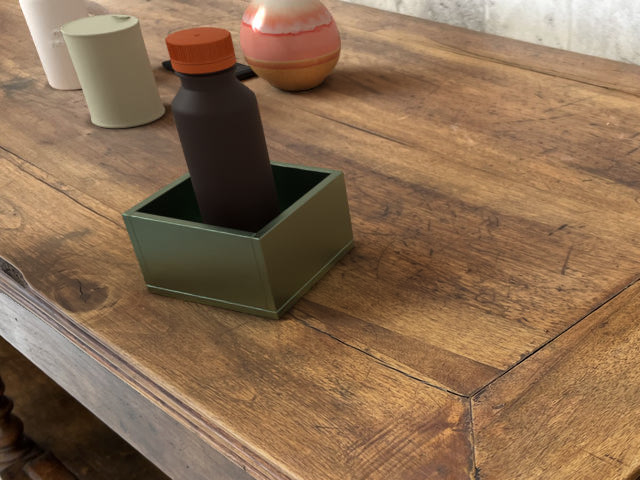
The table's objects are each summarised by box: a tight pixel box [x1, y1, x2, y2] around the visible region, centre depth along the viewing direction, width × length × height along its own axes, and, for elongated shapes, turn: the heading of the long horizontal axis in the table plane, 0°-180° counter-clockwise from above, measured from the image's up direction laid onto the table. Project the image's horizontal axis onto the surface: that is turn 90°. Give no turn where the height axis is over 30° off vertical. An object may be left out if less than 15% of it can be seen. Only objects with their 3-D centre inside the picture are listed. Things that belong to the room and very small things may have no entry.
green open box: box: [121, 159, 356, 321], centre depth 72 cm, size 14×14×8 cm
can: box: [61, 13, 166, 129], centre depth 102 cm, size 9×9×12 cm
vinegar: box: [164, 26, 281, 233], centre depth 68 cm, size 7×7×20 cm
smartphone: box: [161, 59, 257, 81], centre depth 120 cm, size 7×1×15 cm
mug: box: [18, 0, 113, 91], centre depth 115 cm, size 8×12×12 cm
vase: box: [239, 0, 342, 92], centre depth 110 cm, size 14×14×18 cm
